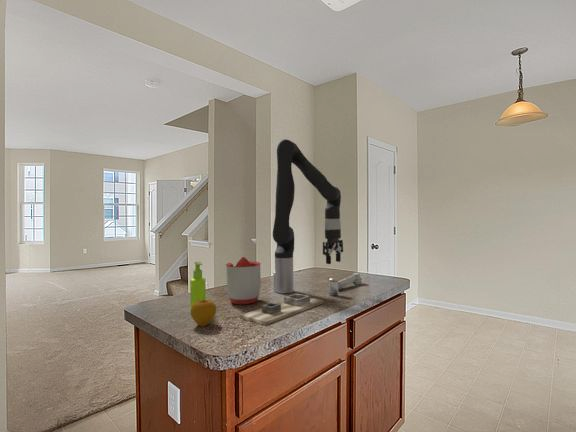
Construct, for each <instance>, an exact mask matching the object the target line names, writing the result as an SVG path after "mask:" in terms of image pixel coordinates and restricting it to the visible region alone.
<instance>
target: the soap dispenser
mask: <svg viewBox="0 0 576 432" xmlns="http://www.w3.org/2000/svg"><path fill="white" fill-rule="evenodd" d="M194 265H195V268H194V270H193V272H192V273H193V275H192V278H190V280H189V286H190V288H189V289H190V291H189V292H190V309H191V308H192V306H193V305H194V303H195V302H197V301H200V300H207V297H206V294H207V293H206V278H205V277H203V270H202V269H200V268H201V266H203V264H202V262H201V261H195V262H194Z"/></svg>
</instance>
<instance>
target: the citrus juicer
mask: <svg viewBox="0 0 576 432" xmlns="http://www.w3.org/2000/svg"><path fill="white" fill-rule="evenodd" d="M261 265H262V263H261V261H259V262H258V261H249V260H248V259H247V258H246V257H245V256H242V257H241V258H240V259H239V260H238V262H237V263H236V264H235V266H234V264H233V263H232V262H228V263H226V264H225V266H226V273H225V274H226V276H225V277H226V290H227V295H228V298H229V300H230V303H232V304H234V305H239V306H242V305H249V304H254V303H257V301H258V298H259V296H260V290H261V279H262V278H261Z"/></svg>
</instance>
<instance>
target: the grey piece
mask: <svg viewBox="0 0 576 432" xmlns="http://www.w3.org/2000/svg"><path fill="white" fill-rule="evenodd" d="M362 280H363V278H362V277H361V274H360V273H359V272H353V274H352V275H350V276H347V277H345V278H343V279H340V280H338V291H340V290H342V289H343V288H344V287H346V286H347V285H350V284H352V285H353V284H354V286H358V285H359V284H360V285H361V284H362Z"/></svg>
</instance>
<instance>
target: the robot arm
mask: <svg viewBox="0 0 576 432" xmlns="http://www.w3.org/2000/svg"><path fill="white" fill-rule="evenodd" d="M302 152H303V151H301V149H300V148H299V147H298V144H296V143H295V142H293V141H292V140H289V139H287V138H286V139H282V140H280V141H279V142H278V145H277V148H276V158H277V159H276V161H277V163H276V164H277V172H276V188H275V206H274V207H275V208H274V209H275V211H274V215H275V216H274V223H273V228H272V238H273V241H275V243H276V249H275V251H274V272H273V292H275V293H278V294H290V293H293V292H294V289H295V288H294V287H295V285H294V283H295V282H294V251H295V233H294V229H293V228H292V227H291V225H290V216H291V215H290V214H291V211H292V209H293V205H294V201H295V191H296V190H295V180H294V175H293V171H292V168H293V167H292V164H293V165H294V166H295V167H297V169H299V171H300V172H301V173H302V175H303V177H305V179H306V180H307V181H308V182H309V183H310V185H312V186H313V187H314V188H315V189H316V190H317V191H318V193H319V194H320V195H321V196H322V197H323V198H324V199H325V200H326V207H325V208H324V238H325V239H326V241H323V242H322V255H324V256H325V263H326V264H327V265H331V264H332V256H331V255H332V253H333V252H335V262H337V263H341V261H342V260H341V258H342V257H341V255H342V253H344V241H343V239H341V238H342V233H341V232H342V226H341V224H342V223H341V211H340V208H341V202H342V201H341V199H342V195H341V190H340V189H339V188H338V187H336V186H334V185H332V184H331V182H329V180H328V179H327V177H326V176H325V175H324V174H323V173H322V171H320V170H319V169H318V168H317V167H316V166H315V165H313V164H312V162H310V161H309V159H308V158H307V157H306V156H305V155H304V153H302Z"/></svg>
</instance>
